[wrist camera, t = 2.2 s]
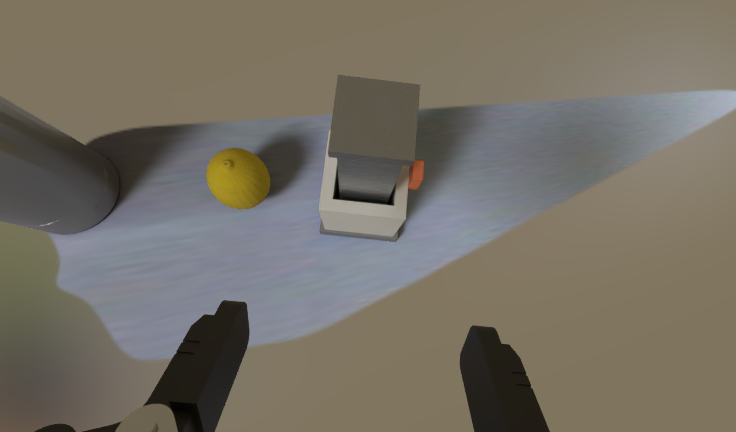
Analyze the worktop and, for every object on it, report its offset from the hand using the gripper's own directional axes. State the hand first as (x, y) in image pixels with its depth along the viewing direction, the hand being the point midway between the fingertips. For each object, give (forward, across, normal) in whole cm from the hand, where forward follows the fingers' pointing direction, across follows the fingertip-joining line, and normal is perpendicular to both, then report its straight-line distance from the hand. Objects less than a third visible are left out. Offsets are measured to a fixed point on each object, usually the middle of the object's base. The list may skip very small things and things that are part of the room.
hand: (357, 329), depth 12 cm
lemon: (+24, +12, +9) cm, 29 cm away
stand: (+24, 0, +9) cm, 26 cm away
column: (+23, 0, +7) cm, 24 cm away
